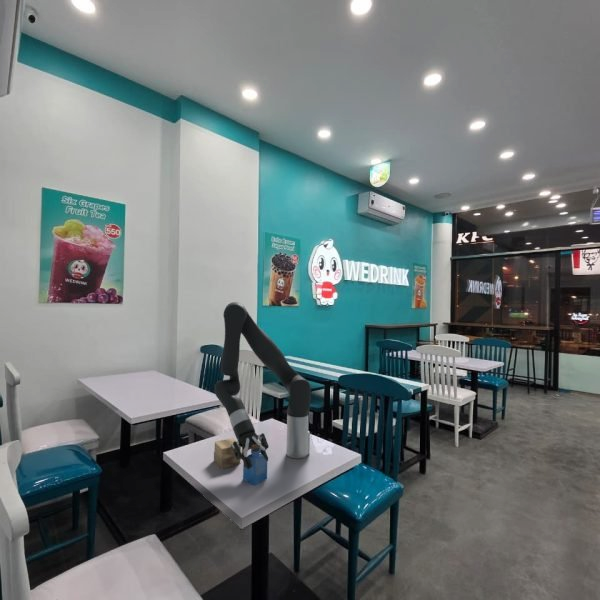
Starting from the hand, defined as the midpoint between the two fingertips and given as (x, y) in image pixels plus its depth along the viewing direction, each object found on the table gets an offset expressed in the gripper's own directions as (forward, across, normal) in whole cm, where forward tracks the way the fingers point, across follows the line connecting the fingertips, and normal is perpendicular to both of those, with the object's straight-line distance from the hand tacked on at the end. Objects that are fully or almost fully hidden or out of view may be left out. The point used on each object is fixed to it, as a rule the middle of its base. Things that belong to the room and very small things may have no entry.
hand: (258, 465), depth 123 cm
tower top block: (-12, -2, +15) cm, 20 cm away
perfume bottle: (+3, 0, +5) cm, 6 cm away
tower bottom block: (-10, -2, +18) cm, 21 cm away
